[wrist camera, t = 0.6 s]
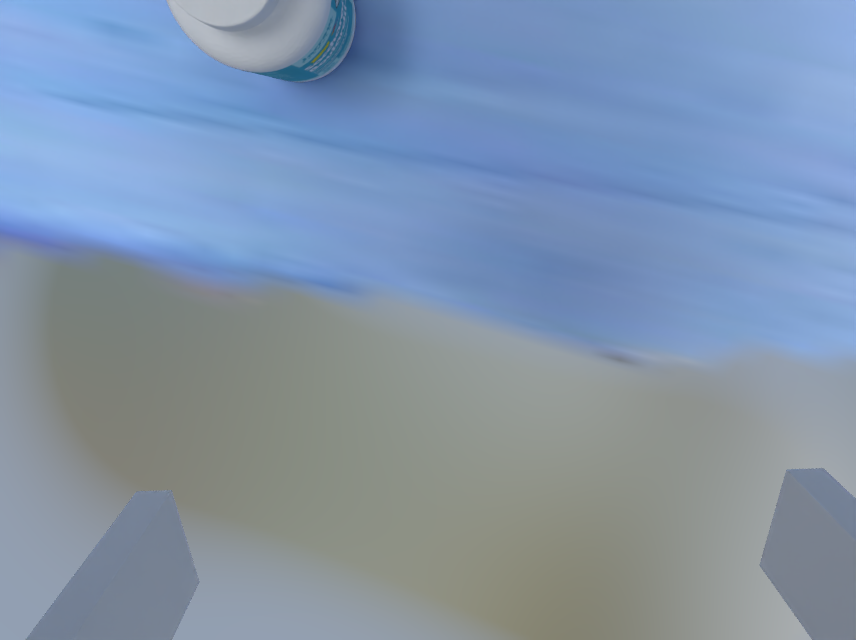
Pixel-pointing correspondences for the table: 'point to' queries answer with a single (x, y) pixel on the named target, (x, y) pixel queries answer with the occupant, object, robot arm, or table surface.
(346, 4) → the pill bottle
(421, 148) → the table surface
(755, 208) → the table surface
